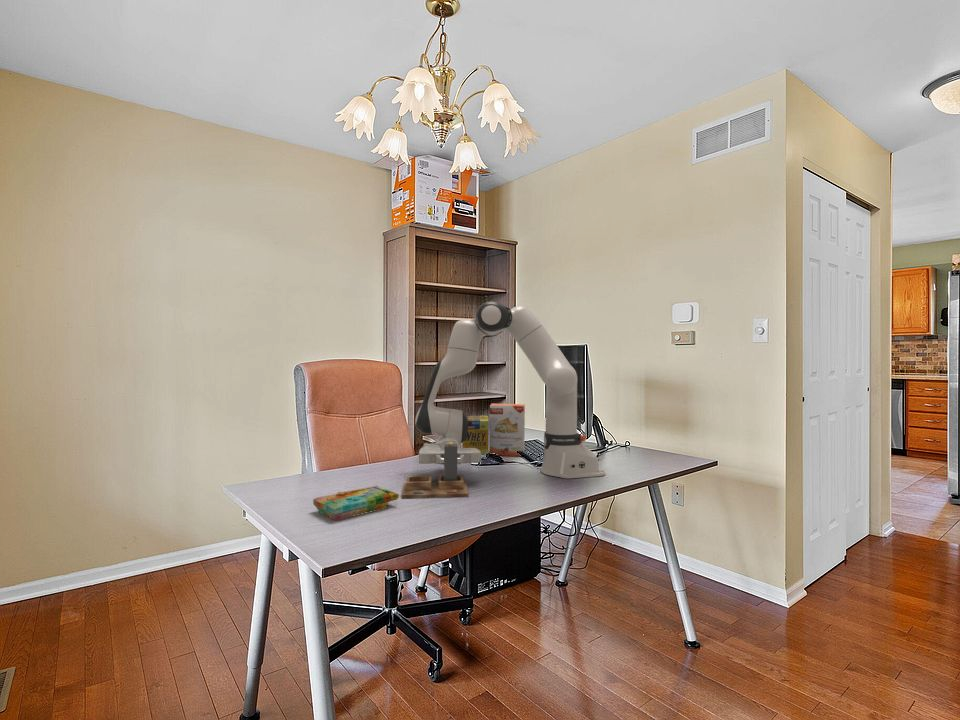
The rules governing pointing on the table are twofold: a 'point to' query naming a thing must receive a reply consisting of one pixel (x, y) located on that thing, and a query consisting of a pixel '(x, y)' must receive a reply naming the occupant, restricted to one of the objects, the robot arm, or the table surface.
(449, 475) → the plug
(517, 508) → the table surface
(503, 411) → the cracker box
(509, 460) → the table surface
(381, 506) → the puzzle game
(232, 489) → the table surface
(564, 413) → the robot arm
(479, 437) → the protein box
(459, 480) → the socket board
